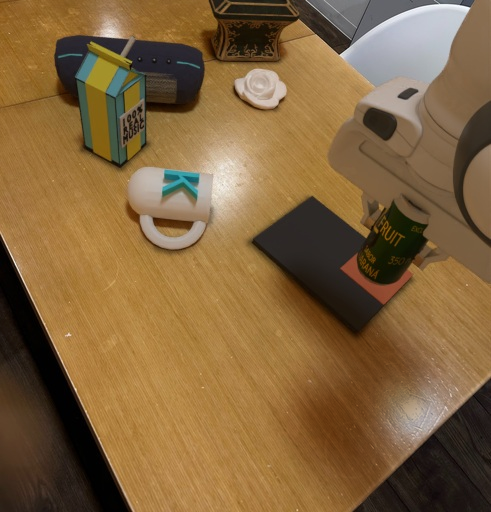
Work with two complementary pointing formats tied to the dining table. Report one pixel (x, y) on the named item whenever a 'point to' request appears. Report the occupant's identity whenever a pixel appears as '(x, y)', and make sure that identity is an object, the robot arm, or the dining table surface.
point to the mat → (326, 262)
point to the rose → (261, 88)
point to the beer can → (393, 242)
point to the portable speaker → (139, 65)
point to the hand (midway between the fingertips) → (393, 243)
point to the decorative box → (250, 28)
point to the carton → (111, 104)
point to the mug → (171, 202)
